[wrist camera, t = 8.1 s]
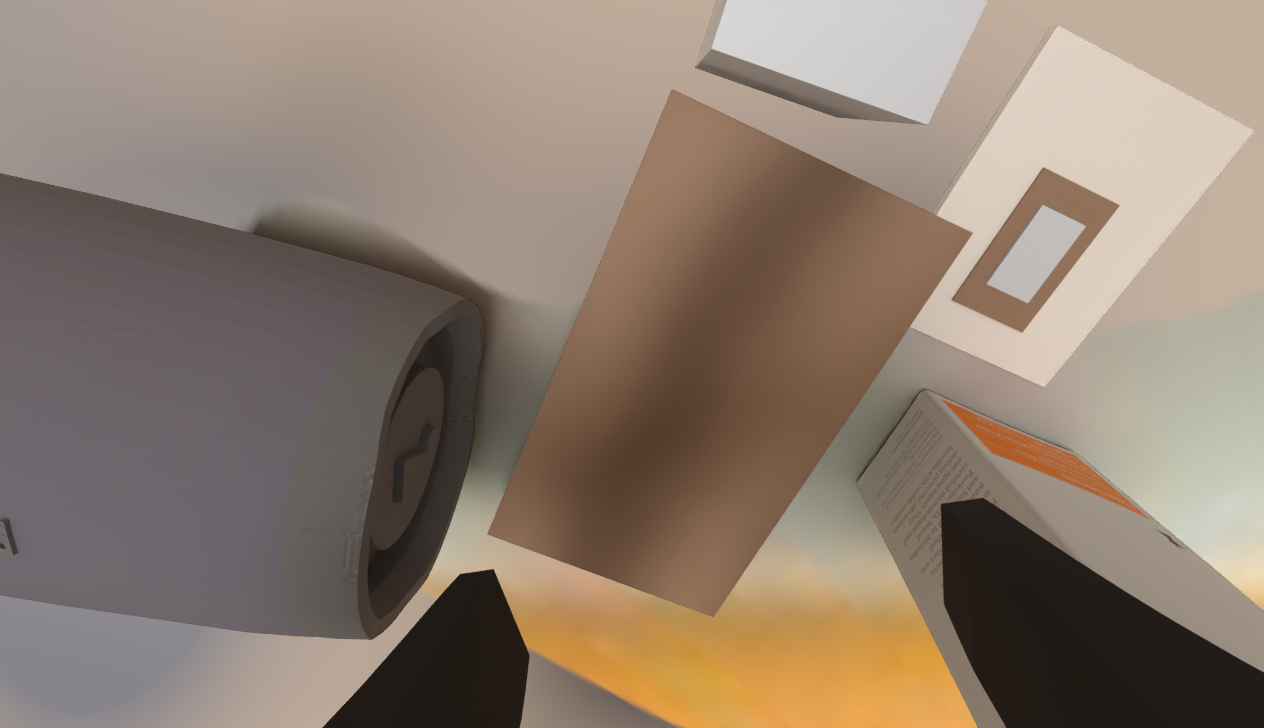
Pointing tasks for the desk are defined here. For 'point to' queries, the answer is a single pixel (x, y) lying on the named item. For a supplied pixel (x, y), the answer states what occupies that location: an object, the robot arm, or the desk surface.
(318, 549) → the bluetooth speaker
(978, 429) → the skincare box
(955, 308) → the cream rectangular panel
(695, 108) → the base slab
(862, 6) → the brick
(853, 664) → the desk surface
